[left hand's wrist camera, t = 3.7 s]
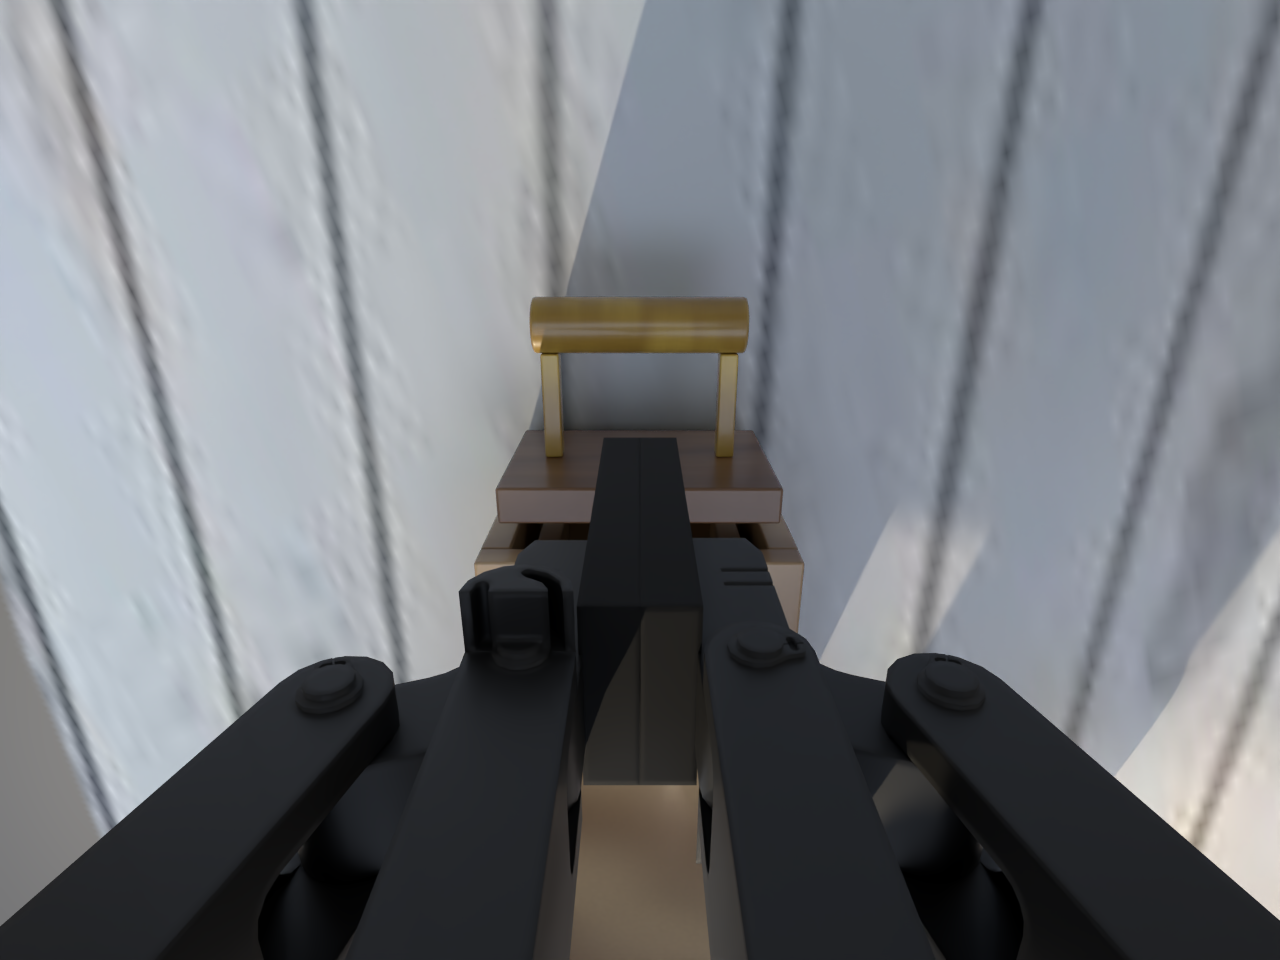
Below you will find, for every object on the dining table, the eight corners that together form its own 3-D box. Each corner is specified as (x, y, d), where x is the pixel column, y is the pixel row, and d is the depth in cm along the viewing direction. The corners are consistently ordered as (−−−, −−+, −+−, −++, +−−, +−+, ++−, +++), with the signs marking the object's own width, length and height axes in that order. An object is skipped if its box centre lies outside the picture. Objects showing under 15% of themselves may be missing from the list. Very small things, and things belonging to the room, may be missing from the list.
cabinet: (517, 469, 28) (473, 562, 21) (761, 469, 28) (805, 562, 21) (541, 830, 35) (515, 997, 28) (737, 830, 35) (763, 997, 28)
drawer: (516, 287, 25) (480, 310, 19) (762, 287, 25) (798, 310, 19) (548, 795, 33) (529, 915, 28) (730, 796, 33) (749, 915, 28)
